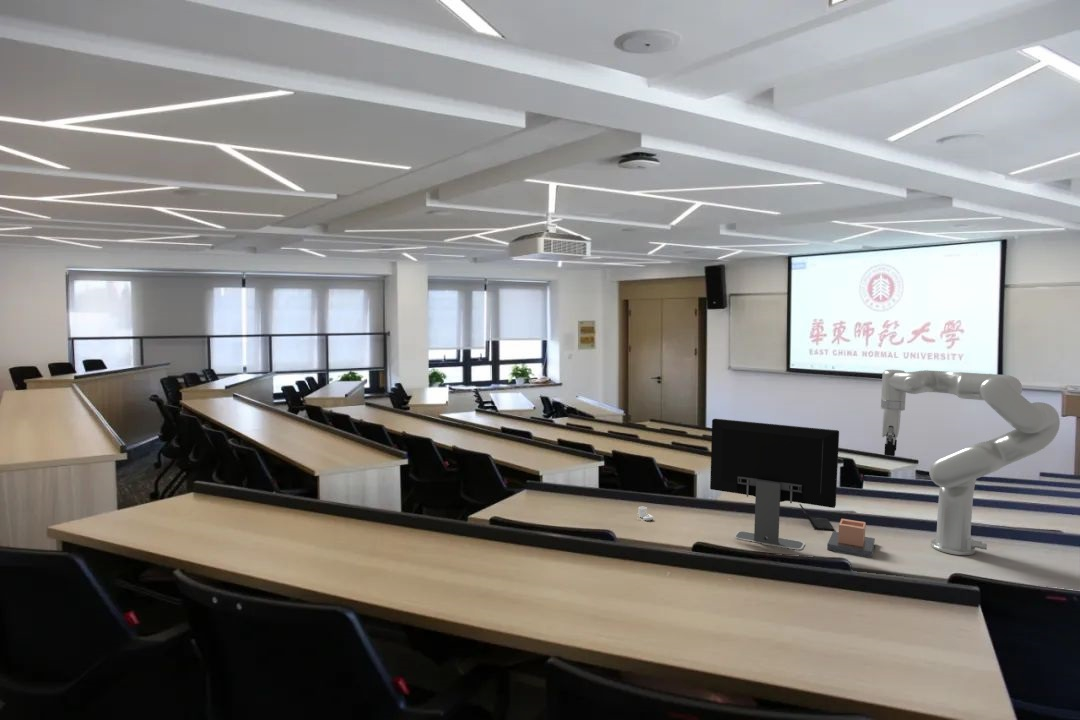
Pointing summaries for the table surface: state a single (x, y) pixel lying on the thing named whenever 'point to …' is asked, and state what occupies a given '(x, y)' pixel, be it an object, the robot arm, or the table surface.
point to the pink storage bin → (852, 532)
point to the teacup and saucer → (644, 513)
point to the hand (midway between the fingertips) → (890, 452)
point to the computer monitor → (774, 470)
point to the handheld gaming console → (819, 522)
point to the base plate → (851, 546)
